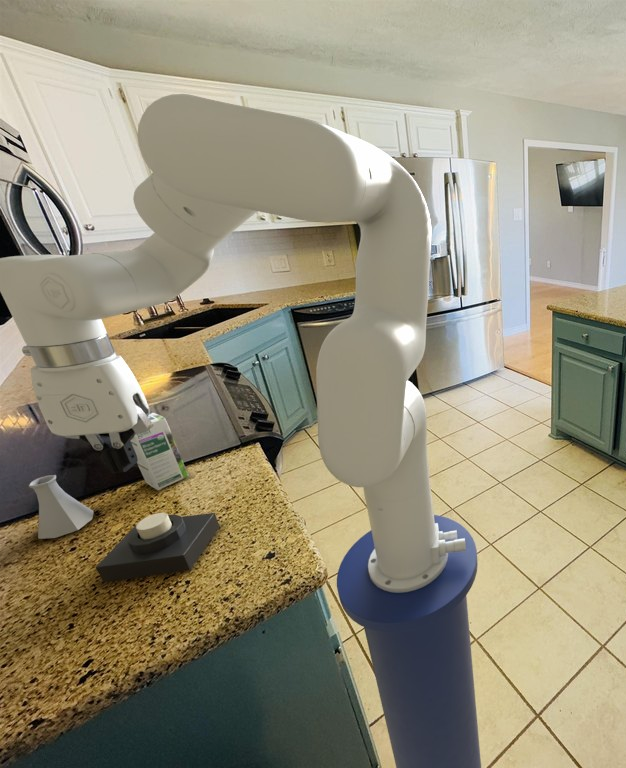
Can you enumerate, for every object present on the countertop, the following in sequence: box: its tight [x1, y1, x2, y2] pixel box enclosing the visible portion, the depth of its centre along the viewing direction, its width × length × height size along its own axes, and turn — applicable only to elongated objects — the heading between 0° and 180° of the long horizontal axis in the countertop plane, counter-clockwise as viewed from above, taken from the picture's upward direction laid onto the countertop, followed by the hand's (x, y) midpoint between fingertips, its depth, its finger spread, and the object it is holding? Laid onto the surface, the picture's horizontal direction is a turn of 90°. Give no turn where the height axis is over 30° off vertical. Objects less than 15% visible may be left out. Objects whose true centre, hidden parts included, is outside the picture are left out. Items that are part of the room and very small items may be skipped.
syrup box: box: [131, 412, 189, 492], centre depth 84 cm, size 6×6×14 cm
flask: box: [28, 474, 94, 540], centre depth 72 cm, size 7×7×10 cm
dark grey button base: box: [95, 512, 220, 583], centre depth 67 cm, size 12×10×5 cm
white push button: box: [135, 512, 172, 540], centre depth 66 cm, size 4×4×2 cm
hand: (125, 467), depth 61 cm, fingers closed
